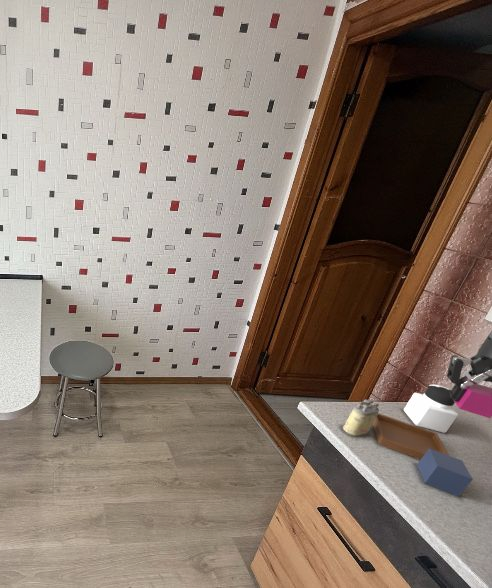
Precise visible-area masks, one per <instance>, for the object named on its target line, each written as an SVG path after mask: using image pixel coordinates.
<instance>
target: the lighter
mask: <svg viewBox="0 0 492 588" xmlns="http://www.w3.org/2000/svg"><path fill="white" fill-rule="evenodd" d="M379 406H380V404H379V403H377V402H375V403H374V401H373V400H372V399H371V400H369V399H364V400H363V401H358V404H356V405H355V406H354V407H353V409H352V410H351V412H350V414H349V416H348V417H347V419H346V421H345V424H343V426H342V429H343V431H344V432H345V433H347V434H348V435H350V436H354V437H357V436H361V437H363V436H364V435H366V434H368V432H369V430H370V429H371V427H372V426H373V422H374V420H375V419H376V417H377V415H378V413H379V412H380V409H379V408H378V407H379Z"/></svg>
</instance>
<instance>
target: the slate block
mask: <svg viewBox="0 0 492 588" xmlns="http://www.w3.org/2000/svg"><path fill="white" fill-rule="evenodd" d="M416 467H417V470H418V471H419V474H420V476H421V478H422V481H423V483H424V484H425V485H427V486H430V487H434V488H436V489H438V490H441V491H443V492H446V493H448V494H451V495H453V496H455V497H460V495H462V493H463V492H464V491H465V490H466V488H467V487H468V486H469V485H470V484H471V482H472V481H473V480H474V478H473V476H472V475H471V473H470V472H469V470H468V468H467V466H466V464H465V463H464V461H463V460H462V459H460V458H457V457H454V456H451V455H450V454H448V455H446V454H443V453H441V452H438V451H435V450H432V449H430V448H429V449H428V450H427V452H426V453H425V454H424V456H423V457H422V459H421V460H420V459H419V461H418V463H417V464H416Z"/></svg>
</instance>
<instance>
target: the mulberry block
mask: <svg viewBox="0 0 492 588" xmlns="http://www.w3.org/2000/svg"><path fill="white" fill-rule="evenodd" d="M450 397H451V396H450ZM454 402H455V401H454ZM454 405H456V406H457V408H458V409H459V410H461V411H465V412H468V413H471V414H475V415H478V416H481V417H485V418H488V419H491V418H492V387H490V386H486V385H482V384H480V383H478V384H473V385H472V386H470V387H468V388H467V391H466V393H465V394H464V395H463V397H462V398H461V400H460V401H459V402H455V403H454Z"/></svg>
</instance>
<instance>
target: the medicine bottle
mask: <svg viewBox="0 0 492 588" xmlns="http://www.w3.org/2000/svg"><path fill="white" fill-rule="evenodd" d="M451 390H452V389H450V388H448V387H445V386H443V385H439V384H435V383H434V384H429V385H428V386H427V388H426V389H425V391H424V393H418V392H414V393H413V394H412V395H411V397H410V398H409V400H408V401H407V403H406V405H405V406H404V408H403V411H404V412H405V414H406V415H407V416H408V418H409V419H410V420H411V421H412V423H413V424H414V426H417V427H420V428H423V429H426V430H430V431H431V430H432V431H434V432H439V433H443V434H445V433H447V432H448V430H449V429H450V428H451V426H452V425H453V423H454V422H455V420H456V419H457V418H458V416H459V413H457V411H455V410H454V409H453V406H454V405H455V402H454V401H453V399H452V398H451V397H450V391H451Z"/></svg>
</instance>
